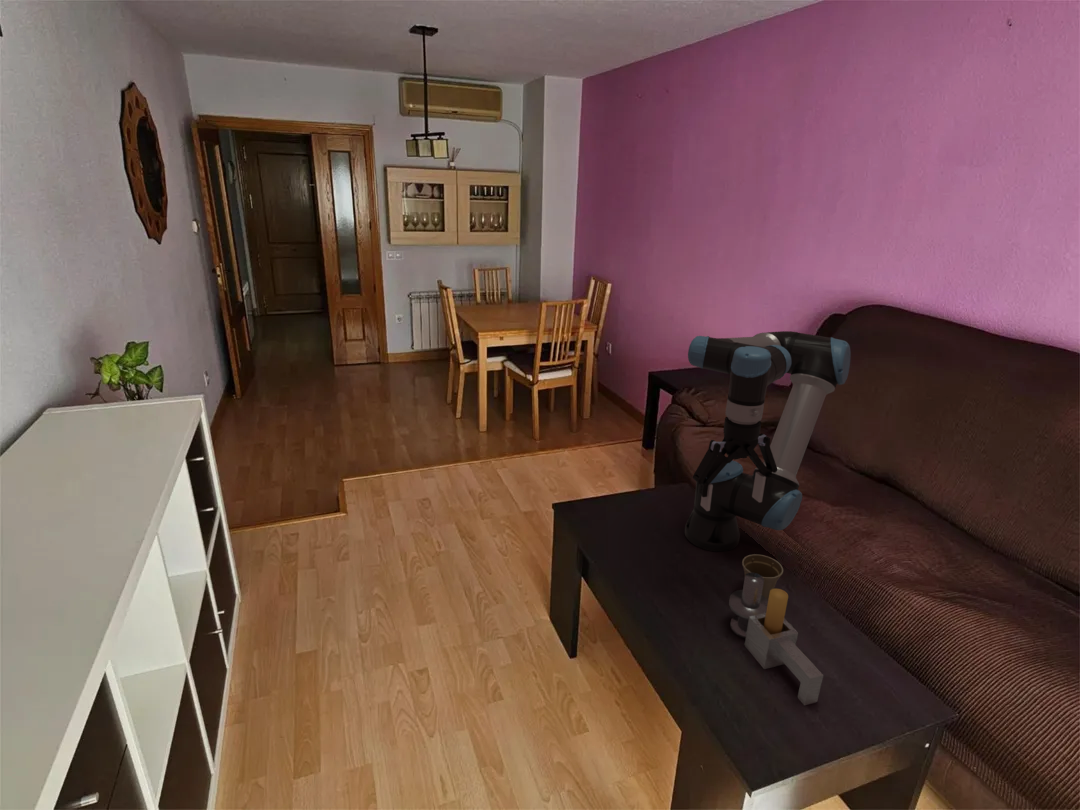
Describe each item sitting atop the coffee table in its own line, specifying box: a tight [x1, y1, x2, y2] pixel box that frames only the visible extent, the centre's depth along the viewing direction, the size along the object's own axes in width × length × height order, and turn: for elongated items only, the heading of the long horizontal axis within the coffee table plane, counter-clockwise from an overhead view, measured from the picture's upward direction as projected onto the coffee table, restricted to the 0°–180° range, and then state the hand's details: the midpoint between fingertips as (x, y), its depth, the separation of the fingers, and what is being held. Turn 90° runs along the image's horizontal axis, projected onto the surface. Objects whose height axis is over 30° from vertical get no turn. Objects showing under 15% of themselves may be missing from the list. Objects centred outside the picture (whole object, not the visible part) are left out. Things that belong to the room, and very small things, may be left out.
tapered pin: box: [764, 587, 789, 635], centre depth 124 cm, size 4×4×14 cm
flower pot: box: [741, 553, 784, 599], centre depth 144 cm, size 9×9×9 cm
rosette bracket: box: [728, 572, 824, 706], centre depth 124 cm, size 26×9×14 cm, turn 16°
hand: (731, 503), depth 135 cm, fingers open, 13 cm apart
